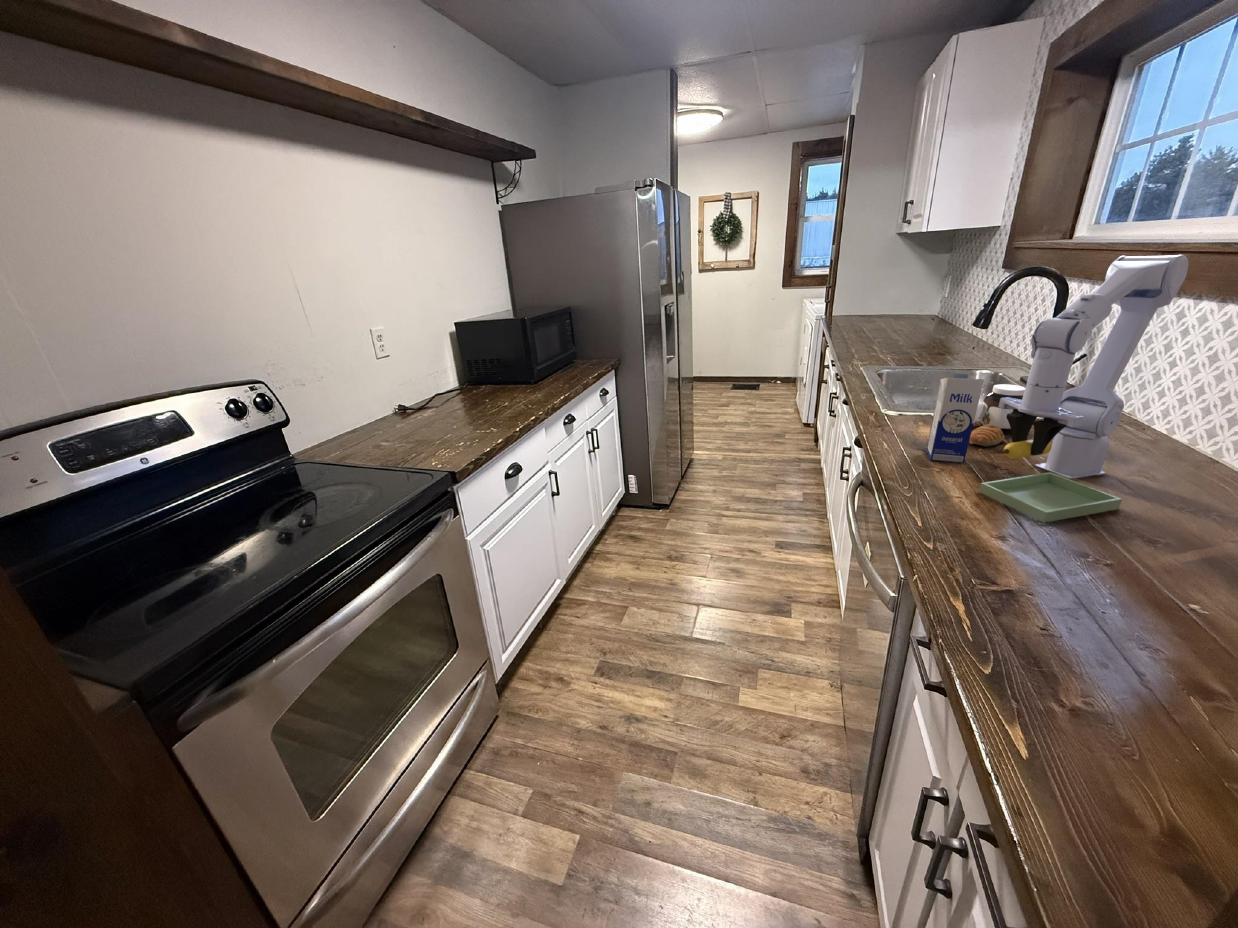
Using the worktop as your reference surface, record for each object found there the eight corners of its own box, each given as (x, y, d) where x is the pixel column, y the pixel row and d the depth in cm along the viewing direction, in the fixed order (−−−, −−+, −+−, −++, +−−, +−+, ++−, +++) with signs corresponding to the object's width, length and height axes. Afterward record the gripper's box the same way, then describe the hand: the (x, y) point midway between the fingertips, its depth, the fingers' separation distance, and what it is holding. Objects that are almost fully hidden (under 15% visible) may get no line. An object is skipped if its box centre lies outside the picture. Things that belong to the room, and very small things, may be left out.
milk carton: (929, 460, 118) (947, 377, 110) (925, 450, 123) (941, 370, 116) (964, 463, 115) (985, 378, 107) (958, 453, 121) (977, 372, 113)
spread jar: (1026, 434, 130) (1039, 391, 126) (982, 436, 131) (993, 393, 126) (995, 420, 141) (1005, 380, 137) (954, 422, 142) (963, 382, 137)
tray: (1046, 483, 104) (1050, 471, 103) (1117, 511, 92) (1122, 499, 91) (978, 494, 101) (981, 482, 100) (1042, 525, 89) (1046, 512, 88)
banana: (1037, 450, 102) (1041, 435, 101) (1053, 455, 99) (1058, 440, 98) (994, 456, 100) (998, 441, 98) (1009, 462, 97) (1013, 447, 96)
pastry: (991, 450, 122) (995, 435, 120) (960, 444, 127) (963, 429, 125) (1004, 441, 127) (1008, 426, 125) (974, 435, 132) (977, 421, 130)
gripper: (993, 378, 100) (978, 441, 105) (1069, 395, 87) (1047, 467, 92) (1022, 375, 101) (1005, 437, 106) (1100, 391, 88) (1077, 462, 93)
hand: (1026, 451), depth 99 cm, fingers closed on banana, 3 cm apart
